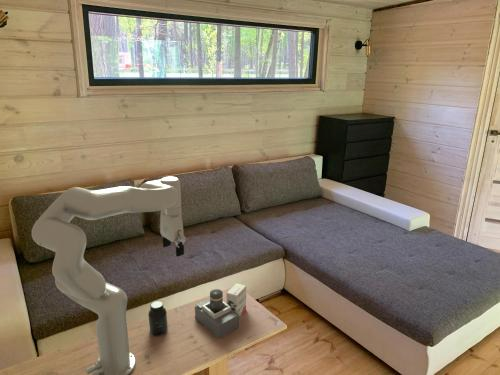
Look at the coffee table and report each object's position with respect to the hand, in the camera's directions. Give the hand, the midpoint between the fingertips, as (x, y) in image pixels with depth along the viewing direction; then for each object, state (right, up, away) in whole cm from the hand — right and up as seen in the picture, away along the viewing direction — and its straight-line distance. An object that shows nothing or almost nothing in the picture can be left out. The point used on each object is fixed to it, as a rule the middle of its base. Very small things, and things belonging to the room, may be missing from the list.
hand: (173, 250), depth 144 cm
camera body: (+16, -30, +6) cm, 35 cm away
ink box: (+24, -28, +12) cm, 39 cm away
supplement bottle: (-6, -32, +1) cm, 32 cm away
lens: (+16, -24, +4) cm, 30 cm away
